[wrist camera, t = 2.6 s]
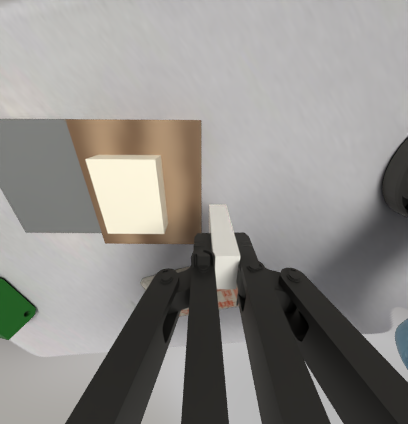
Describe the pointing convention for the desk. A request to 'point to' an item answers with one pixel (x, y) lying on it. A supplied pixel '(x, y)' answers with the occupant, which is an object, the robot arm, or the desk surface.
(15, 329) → the green mounting bracket
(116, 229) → the tile
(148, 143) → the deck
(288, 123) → the desk surface
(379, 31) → the desk surface
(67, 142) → the mat
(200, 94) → the desk surface
